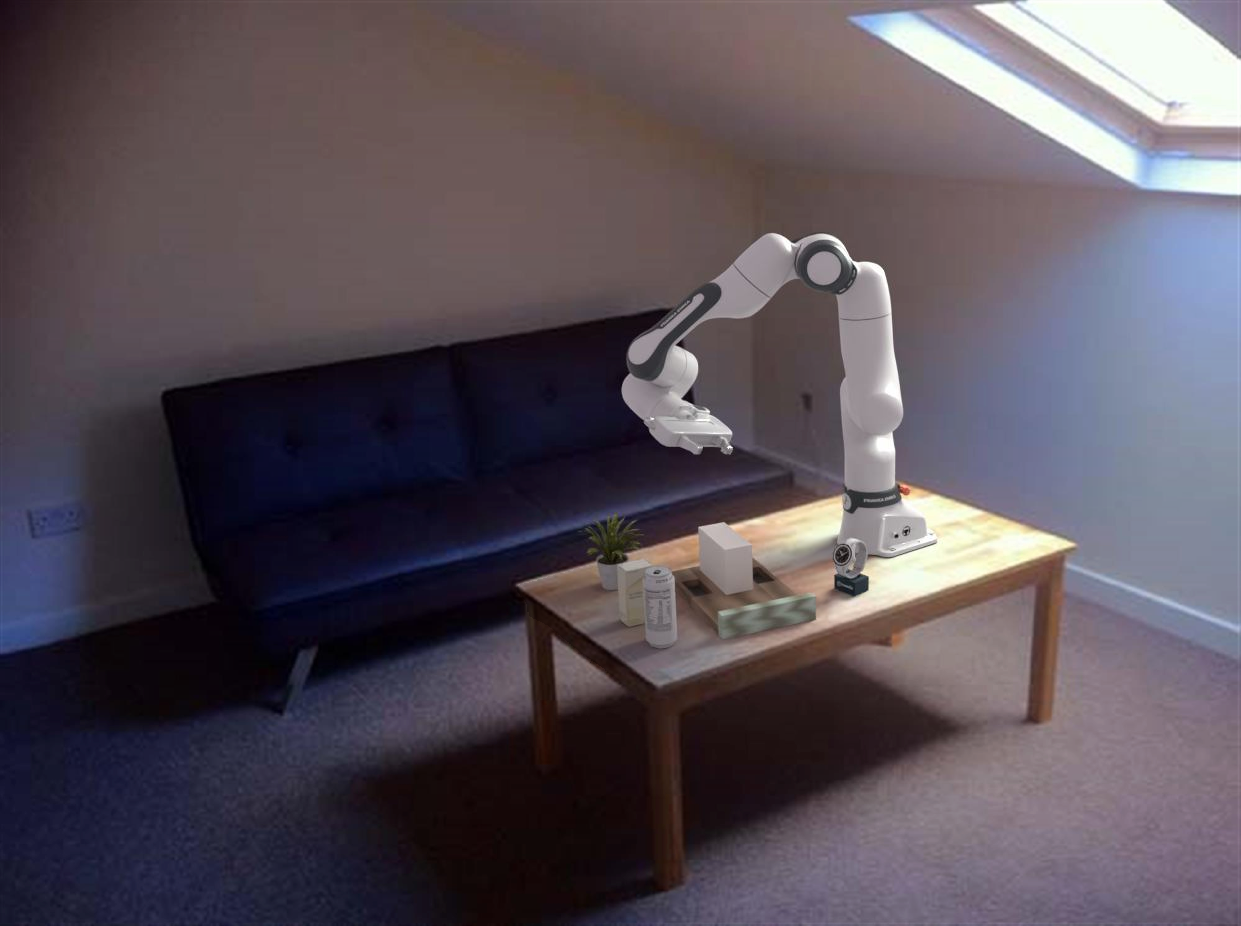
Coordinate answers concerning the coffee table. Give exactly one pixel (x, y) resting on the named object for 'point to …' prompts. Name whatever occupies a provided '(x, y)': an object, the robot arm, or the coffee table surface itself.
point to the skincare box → (632, 591)
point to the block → (725, 558)
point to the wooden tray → (744, 602)
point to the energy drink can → (659, 606)
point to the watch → (847, 578)
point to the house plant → (611, 550)
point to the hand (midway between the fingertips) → (714, 451)
